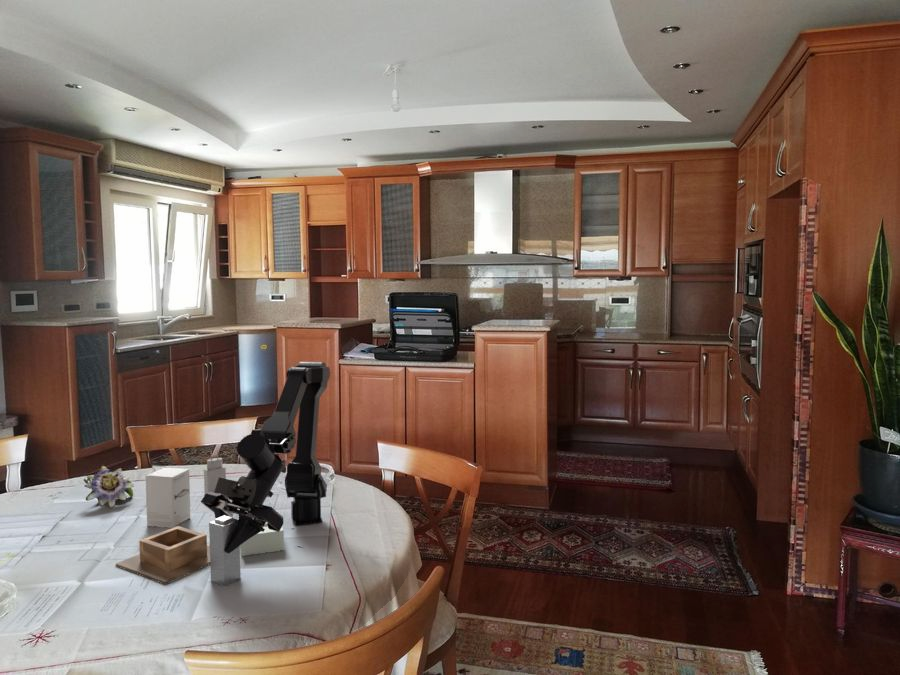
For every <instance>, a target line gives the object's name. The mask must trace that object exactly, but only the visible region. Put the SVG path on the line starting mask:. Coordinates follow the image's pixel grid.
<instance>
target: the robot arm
mask: <svg viewBox="0 0 900 675" xmlns="http://www.w3.org/2000/svg"><path fill="white" fill-rule="evenodd" d="M330 376H331V370H330V367H329V366H327V365H326V363H325V362H324V361H322V362H321V361H299V362H298V364H297V365H294V366H293V365H292V366H290V367H289V368H288V369H287V370H286V380H285V382H284V386H283V388H282V391H281V393H280V396H279V399H278V401H277V404H276V406H275V409H274V412H273V414H272V415H271V416H270V417H269V418H268V419H266V420H264V422H263V424H262V426H261V428H260V429H254V428H253V429H252V430H251V433H249V434H247V435H245V436H244V437H243V438H242V439H240V441H239V442H238V443H237V445H236V446H237V447H236V451H237V452H236V453H238V456H239V457H240V458H241V459H242V461H243V462H244V464H245V465H246V466H247V467H248V468H249V469H250V471H249V472H248V474H247V475H246V476H243V475H242V476H240V477H239V478H238V480H234V479H229V478H226V479H225V478H221V477H219V478H218V481H217V484H216V487H215V490H214V492H209V493H206V494H205V493H204V495H203V497H202V499H201V500H200V503H201V504H203V505H204V506H205V507H206V508H208V509H209V510H211V511H212V513H213V514H214V517H215V518H214V520H215V519H216V518H219V517H221V516H224V515H226V516H229V517H233V518H234V514H235V515H238V520H239V521H238V526H237V528H236V530H235V532H234V533H233V535H232V537H231V539H230V541H229V543H228V545H227V547H226V549H225V552H226V553H231V552H232V551H233V550H235V549H236V548H237V547H239V546H240V545H241V544H243V543H244V542H245V541H247V540H248V539H250V538H251V537H253V536H254V535H256V534H258V533H259V532H261V531H262V532H264V530H265V529H264V528H263V527H264V525H265V523H266V522H267V525H268V528H269V529H270V530H274V531H278V532H279V531H280V529H281V527H283V525H284V516H282V514H280V513H279V512H278V511H277V510H276V509H274V508H273V507H272V506H270V505H265V504H264V502H265V501H266V499H267V498H272V497H273V495H274V492H273V491H271V490H272V488H273V487H274V485H275V483H276V481H277V480H278V478H279V476H280V474H282V473H283V474H285V473H286V475H285V476H284V487H285V492H286V497H287V499H289V498H293V500H292V501H290V512H291V513H290V514H291V516H290V518H291V521H293V523H294V525H295V526H303V525H311V524H317V523H323V518H322V512H321V511H322V510H321V509H322V506H321V505H322V503H321V501H322V500H321V499H322V498H326V497H327V491H328V490H327V487H328V486H327V485H328V484H327V482H326V481H325V479H324V477H323V475H322V467H321V465H320V462H319V461H318V459H317V457H316V451H317V439H318V427H319V426H318V424H319V413H320V412H319V411H320V401H321V400H320V398H321V396H323V394H324V392H325V391H326V390H327V388H328V383H329V382H328V381H329V380H330ZM297 415H298V420H297V421H298V422H297V423H298V424H297V433H296V430H295V427H294V425H295V421H296V419H297V418H296V417H297ZM295 446H296V449H295V456H294V457H293V459H292V460H291V462H288V464H287V465H286V460H285V459H283V458H281V457H280V456H278V455H277V454H279V455H280V454H281V455H287V454H290V453H291V452H292V450H293V449H294V448H295ZM218 493H221V494H218Z"/></svg>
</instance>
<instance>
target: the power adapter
mask: <svg viewBox="0 0 900 675" xmlns="http://www.w3.org/2000/svg"><path fill="white" fill-rule="evenodd" d="M212 454H213V452H212V451H210V458H209V459H206V468H205V467H204V468H203V480H204V481H203V482H204V485H203V487H204V495H205V494H206V493H209V492H214V490H215V487H216V484H217V481H218V478H219V477H221V478H225V479H227V468H226V466H225V465H223V457H219V449H218V450H216V457H214V458H213V455H212ZM218 494H221V493H218Z"/></svg>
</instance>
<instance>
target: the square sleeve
mask: <svg viewBox="0 0 900 675" xmlns="http://www.w3.org/2000/svg"><path fill="white" fill-rule="evenodd" d="M207 536H208V534H205V533H202V532H199V531H197V530H192V529H190V528H186V527H183V526H180V525H177V526H175V527H174V528H168V529H166V530H164V531H161V532H158V533H155V534H152V535H150V536H147V537H145V538H142V539H140V540H139V541H138V542H139V554H136V555H134V556H131V557H129V558H126V559H124V560H121V561H119V562H117V563H115V566H116V565H117V566H116V567H118V566H119V567H118V568H120V567H122V568H121V569H123V568H125V569H124V570H126V569H127V570H126V571H128V570H130V571H129V572H131V571H133V572H132V573H134V572H135V573H134V574H136V573H138V574H137V575H139V574H141V575H140V576H142V575H143V576H142V577H144V576H146V577H145V578H147V577H148V578H147V579H150V580H152V579H153V581H155V580H156V581H155V582H157V581H159V582H158V583H160V582H161V583H160V584H163V585H168V584H170V583H172V582H174V581H176V580H178V579H180V577H181V578H182V576H183V577H184V575H185V576H187V575H189V574H191V572H192V573H194V572H196V571H198V570H200V569H202V568H201V567H203V568H205V567H207V566H209V565H210V545H208V537H207ZM208 564H209V565H208ZM206 565H207V566H206ZM204 566H205V567H204ZM199 568H200V569H199ZM197 569H198V570H197ZM195 570H196V571H195ZM193 571H194V572H193ZM188 573H189V574H188ZM173 580H174V581H173ZM171 581H172V582H171ZM169 582H170V583H169Z"/></svg>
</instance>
